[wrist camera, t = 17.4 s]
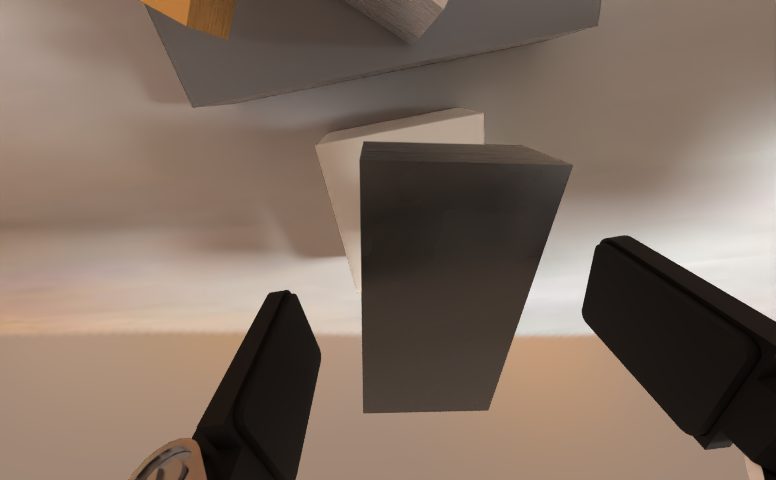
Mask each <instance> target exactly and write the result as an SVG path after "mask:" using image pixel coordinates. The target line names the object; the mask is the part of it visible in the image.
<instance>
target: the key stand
mask: <svg viewBox="0 0 776 480" xmlns="http://www.w3.org/2000/svg"><path fill="white" fill-rule="evenodd" d="M363 141H377V142H413V143H449V144H484V113H482V112H478V111H473V110H468V109H463V108H459V107H458V108H453V109H447V110H442V111H437V112H432V113H427V114H422V115H416V116H411V117H406V118H401V119H396V120H391V121H386V122H380V123H375V124H370V125H365V126H360V127H355V128H350V129H344V130H339V131H334V132H329V133H327V134H326V135H325V136H324V137H323V138H322V139H321V140H320V141H319V142H318V143H317V144H316V145H314V146H315V149H316V153H317V156H318V159H319V163H320V166H321V170H322V173H323V177H324V180H325V184H326V187H327V190H328V194H329V197H330V201H331V204H332V208H333V211H334V215H335V218H336V221H337V225H338V228H339V232H340V235H341V239H342V242H343V245H344V249H345V252H346V256H347V259H348V263H349V266H350V270H351V273H352V276H353V280H354V283H355V287H356V290H357V293H360V292H361V230H360V166H359V159H360V155H361V150H362V146H363Z"/></svg>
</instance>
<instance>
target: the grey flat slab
mask: <svg viewBox="0 0 776 480" xmlns="http://www.w3.org/2000/svg"><path fill="white" fill-rule="evenodd" d="M144 4H145V3H144ZM145 6H146V8H147V10H148V12H149V14H150V17H151V19H152V21H153V23H154V25H155V27H156V29H157V32H158V34H159V36H160V38H161V40H162V42H163V45H164V47H165V49H166V51H167V53H168V55H169V57H170V60H171V62H172V64H173V66H174V68H175V70H176V73H177V75H178V77H179V79H180V81H181V83H182V85H183V88H184V90H185V92H186V94H187V96H188V98H189V101H190V103H191V105H192V107H193V108H195V107H205V106H215V105H225V104H234V103H239V102H244V101H249V100H254V99H259V98H263V97H268V96H273V95H278V94H283V93H288V92H293V91H298V90H303V89H308V88H313V87H318V86H323V85H328V84H333V83H338V82H343V81H348V80H352V79H357V78H362V77H367V76H372V75H377V74H382V73H387V72H392V71H397V70H402V69H407V68H412V67H417V66H422V65H427V64H432V63H437V62H441V61H446V60H451V59H456V58H461V57H466V56H471V55H476V54H481V53H486V52H491V51H496V50H501V49H506V48H511V47H516V46H521V45H526V44H530V43H535V42H540V41H545V40H549V39H553V38H556V37H559V36H563V35H566V34H570V33H573V32H577V31H580V30H584V29H587V28H591V27H594V26H598V19H599V13H600V6H601V0H448V2H447V4H446V6H445V8H444V10H443V11H442V12H441V13H440V14H439V16H438V17H437V18H436V19H435V20H434V21H433V23H432V24H431V25H430V26H429V27H428V28H427V30H426V31H425V32H424V33H423V34H422V35H421V36H420V38H419V39H418V40H417V41H416V42H415V43H414V45H413V46H412V45H410V44H409V43H407V42H406V41H404V40H403V39H401V38H400V37H398V36H397V35H395V34H394V33H392V32H390V31H389V30H387V29H386V28H384V27H383V26H381V25H380V24H378V23H377V22H375V21H374V20H372V19H371V18H369V17H368V16H366V15H365V14H363V13H361V12H360V11H358V10H357V9H355V8H354V7H352V6H351V5H349V4H348V3H346V2H345V1H343V0H236V3H235V8H234V12H233V17H232V22H231V27H230V31H229V36H228V40H226V39H223V38H220V37H217V36H214V35H211V34H208V33H205V32H202V31H199V30H196V29H193V28H190V27H187V26H185V25H183V24H181V23H180V22H178V21H176V20H174V19H172V18H171V17H169V16H167V15H165V14H163V13H161V12H160V11H158V10H156V9H154V8H152V7H150V6H149V5H147V4H145Z"/></svg>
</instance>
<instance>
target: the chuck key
mask: <svg viewBox="0 0 776 480" xmlns="http://www.w3.org/2000/svg"><path fill="white" fill-rule="evenodd" d="M359 166H360V230H361V295H362V356H363V357H362V358H363V413H394V412H395V413H397V412H441V411H481V410H488V409H489V407H490V404H491V401H492V398H493V395H494V392H495V389H496V386H497V383H498V381H499V377H500V375H501V372H502V369H503V366H504V363H505V360H506V357H507V354H508V351H509V348H510V346H511V343H512V340H513V337H514V334H515V331H516V328H517V325H518V323H519V320H520V317H521V314H522V311H523V308H524V305H525V302H526V299H527V297H528V294H529V291H530V288H531V285H532V282H533V279H534V276H535V273H536V270H537V268H538V265H539V262H540V259H541V256H542V253H543V250H544V247H545V244H546V241H547V239H548V236H549V233H550V230H551V227H552V224H553V221H554V218H555V215H556V213H557V210H558V207H559V204H560V201H561V198H562V195H563V192H564V189H565V186H566V184H567V181H568V178H569V175H570V172H571V169H572V166H573V165H571V164H569V163H566V162H564V161H561V160H558V159H556V158H553V157H550V156H548V155H545V154H542V153H540V152H537V151H535V150H532V149H529V148H527V147H524V146H521V145H485V144H449V143H413V142H377V141H363V146H362V150H361V155H360V159H359Z"/></svg>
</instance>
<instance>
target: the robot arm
mask: <svg viewBox="0 0 776 480" xmlns="http://www.w3.org/2000/svg"><path fill="white" fill-rule="evenodd" d="M582 316H583V318H584V320H585V322H586V323H587V324H588V325H589V327H590V328H591V329H592V330H593V331H594V332H595V333H596V334H597V336H598V337H599V338H600V339H601V340H602V341H603V342H604V343H605V345H606V346H607V347H608V348H609V349H610V350H611V351H612V352H613V354H614V355H615V356H616V357H617V358H618V359H619V360H620V361H621V363H622V364H623V365H624V366H625V367H626V368H627V369H628V370H629V372H630V373H631V374H632V375H633V376H634V377H635V378H636V379H637V381H638V382H639V383H640V384H641V385H642V386H643V387H644V388H645V390H646V391H647V392H648V393H649V394H650V395H651V396H652V397H653V398H654V400H655V401H656V402H657V403H658V404H659V405H660V406H661V408H662V409H663V410H664V411H665V412H666V413H667V414H668V415H669V417H670V418H671V419H672V420H673V421H674V422H675V423H676V424H677V426H678V427H679V428H680V429H681V430H682V431H684V432H685V433H686V434H689V435H691V436H693V437H694V438H695V439H696V440H697V441H698V442H699V443H700V445H701V446H702V447H703V448H704V449H705V450H707V449H716V448H725V447H730V446H731V445H732V444H733V443H734V444H735V445H736V446H737V447H738V448H739V449H740V450H741V451H742V452H743V453H744V457H745V462H746V467H747V472H748V476H749V480H776V322H775V321H774V320H772V319H770V318H768V317H767V316H765V315H763V314H762V313H760V312H758V311H756V310H755V309H753V308H751V307H750V306H748V305H746V304H745V303H743V302H741V301H739V300H738V299H736V298H734V297H733V296H731V295H729V294H727V293H726V292H724V291H722V290H721V289H719V288H717V287H716V286H714V285H712V284H710V283H709V282H707V281H705V280H704V279H702V278H700V277H698V276H697V275H695V274H693V273H692V272H690V271H688V270H687V269H685V268H683V267H681V266H680V265H678V264H676V263H675V262H673V261H671V260H669V259H668V258H666V257H664V256H663V255H661V254H659V253H658V252H656V251H654V250H652V249H651V248H649V247H647V246H646V245H644V244H642V243H640V242H639V241H637V240H635V239H634V238H632V237H630V236H625V235H624V236H617V237H611V238H605V239H603V240H602V241H601V242H600V244H599V245H597V246H596V248H595V251H594V256H593V261H592V265H591V270H590V275H589V279H588V284H587V289H586V293H585V298H584V303H583V307H582ZM320 362H321V352H320V349H319V346H318V344H317V342H316V339H315V337H314V334H313V332H312V330H311V327H310V325H309V323H308V320H307V318H306V316H305V313H304V311H303V309H302V306H301V304H300V302H299V299H298V297H297V295H296V294H291V292H290V291H289V290H284V291H278V292H272V293H269V294H268V295H267V297H266V299H265V301H264V303H263V305H262V306H261V308H260V310H259V312H258V314H257V316H256V318H255V319H254V321H253V323H252V325H251V327H250V329H249V331H248V333H247V334H246V336H245V338H244V340H243V342H242V344H241V346H240V347H239V349H238V351H237V353H236V355H235V357H234V359H233V361H232V362H231V364H230V366H229V368H228V370H227V372H226V374H225V376H224V378H223V379H222V381H221V383H220V385H219V387H218V389H217V390H216V392H215V394H214V396H213V398H212V400H211V402H210V403H209V406H208V407H207V409H206V411H205V413H204V415H203V417H202V418H201V420H200V422H199V424H198V426H197V429H196V431H195V433H194V435H193V437H192V439H191V438H180V439H177V440H174V441H171V442H169V443H167V444H166V445H164V446H162V447H161V448H159V449H157V450H156V451H155V452H154V453H152V454H151V455H150V456H149V457H148V458H146V459H145V460H144V461H143V462H142V464H141V465H140V466H139V467H138V468H137V469H136V470H135V471H134V472H133V474H132V475H131V477H130V478H129V480H295V479H296V476H297V472H298V467H299V462H300V457H301V452H302V448H303V443H304V438H305V434H306V429H307V424H308V419H309V415H310V410H311V405H312V400H313V396H314V391H315V386H316V381H317V376H318V371H319V367H320Z"/></svg>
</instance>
